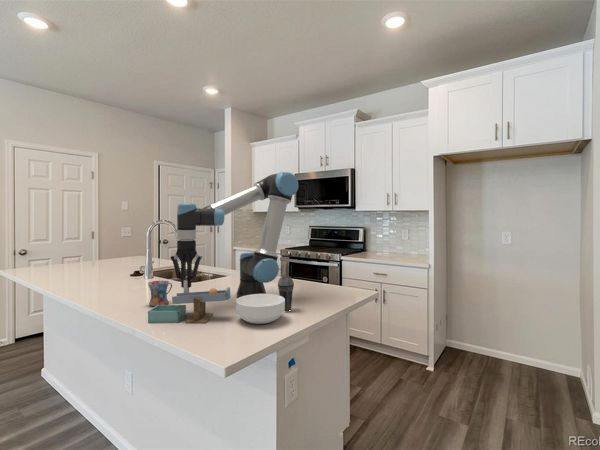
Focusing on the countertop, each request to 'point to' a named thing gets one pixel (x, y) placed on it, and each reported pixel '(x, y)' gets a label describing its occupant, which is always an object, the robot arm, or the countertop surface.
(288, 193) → the robot arm
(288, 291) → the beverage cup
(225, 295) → the blue-grey ramp
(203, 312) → the fulcrum
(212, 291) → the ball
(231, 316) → the countertop surface
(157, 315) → the tray
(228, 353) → the countertop surface
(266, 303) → the bowl
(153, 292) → the mug
